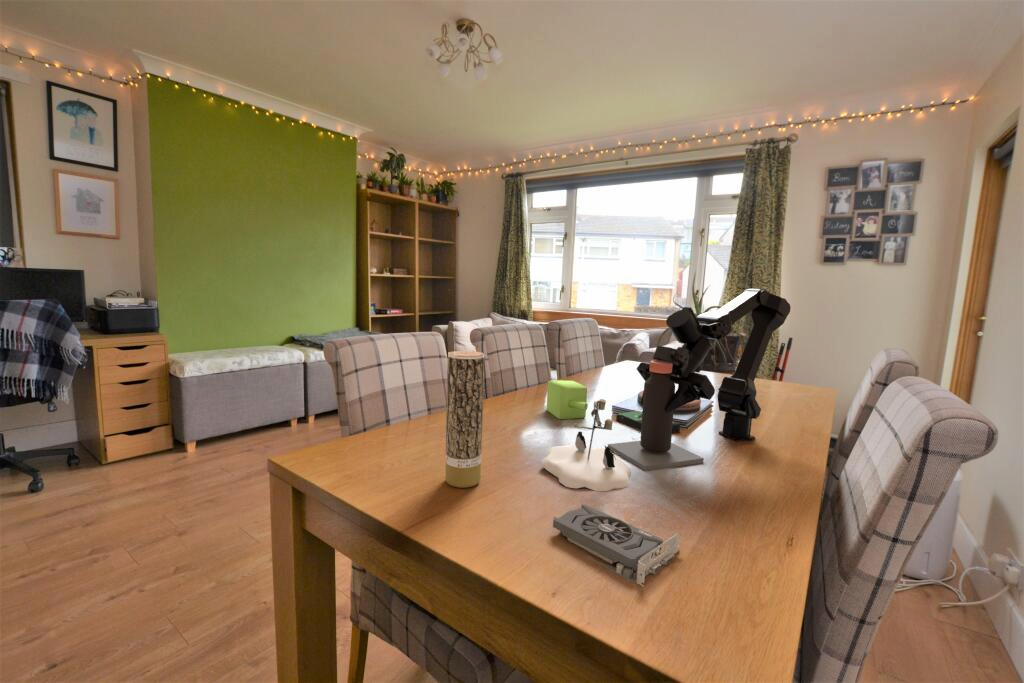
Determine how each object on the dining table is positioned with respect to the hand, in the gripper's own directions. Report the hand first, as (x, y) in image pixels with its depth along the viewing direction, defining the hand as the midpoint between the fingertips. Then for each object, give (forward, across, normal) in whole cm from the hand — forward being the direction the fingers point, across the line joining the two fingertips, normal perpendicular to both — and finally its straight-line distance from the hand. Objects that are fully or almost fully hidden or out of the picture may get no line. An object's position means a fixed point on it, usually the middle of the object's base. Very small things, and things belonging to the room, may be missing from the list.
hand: (653, 407), depth 106 cm
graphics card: (+32, +24, -15) cm, 42 cm away
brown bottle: (+6, 0, +8) cm, 10 cm away
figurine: (+22, 0, -5) cm, 22 cm away
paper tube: (+39, -6, -24) cm, 46 cm away
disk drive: (-4, -18, +21) cm, 28 cm away
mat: (+7, 0, +9) cm, 12 cm away
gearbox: (+6, -35, +11) cm, 37 cm away
